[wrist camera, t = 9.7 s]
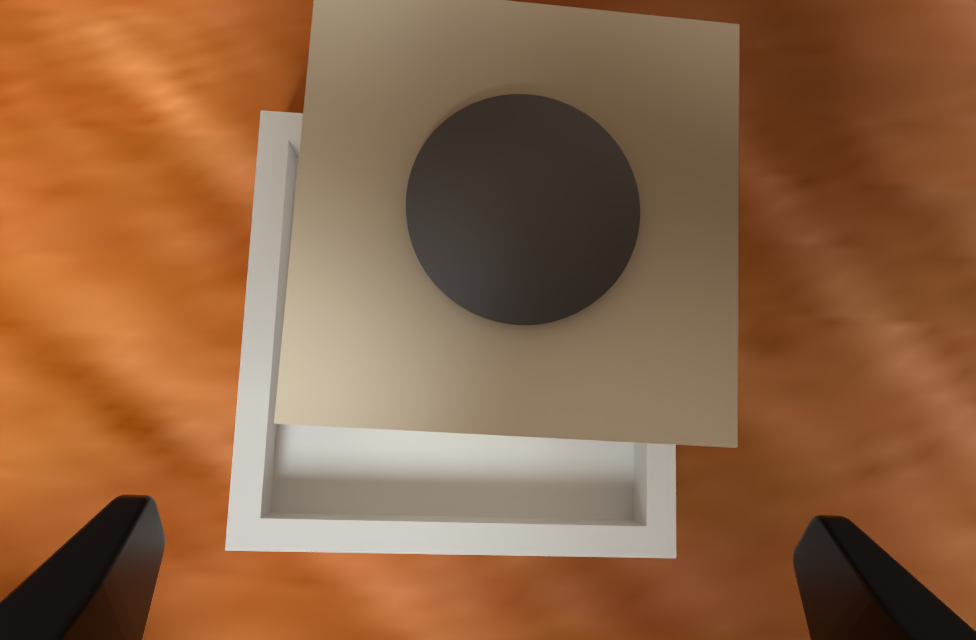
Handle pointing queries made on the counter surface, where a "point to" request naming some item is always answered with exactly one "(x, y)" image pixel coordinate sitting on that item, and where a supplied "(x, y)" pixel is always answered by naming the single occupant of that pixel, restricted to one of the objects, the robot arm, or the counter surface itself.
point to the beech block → (515, 224)
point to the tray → (414, 450)
